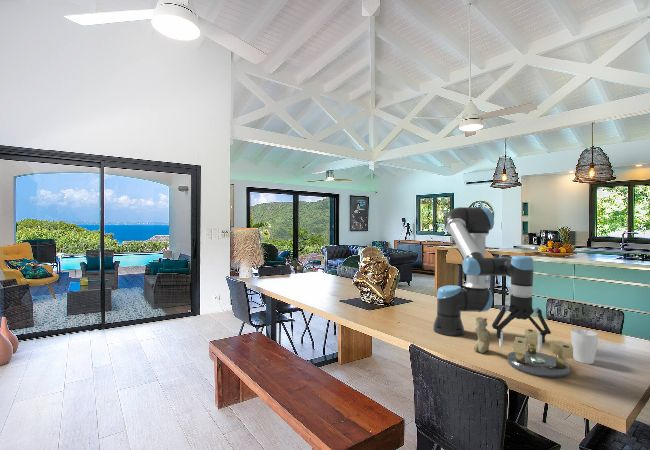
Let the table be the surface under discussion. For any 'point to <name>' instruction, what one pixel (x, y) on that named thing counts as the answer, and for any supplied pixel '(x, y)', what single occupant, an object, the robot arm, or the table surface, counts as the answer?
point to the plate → (539, 365)
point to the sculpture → (482, 335)
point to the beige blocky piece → (531, 340)
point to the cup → (584, 345)
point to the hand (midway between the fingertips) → (519, 348)
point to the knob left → (520, 349)
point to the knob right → (561, 352)
